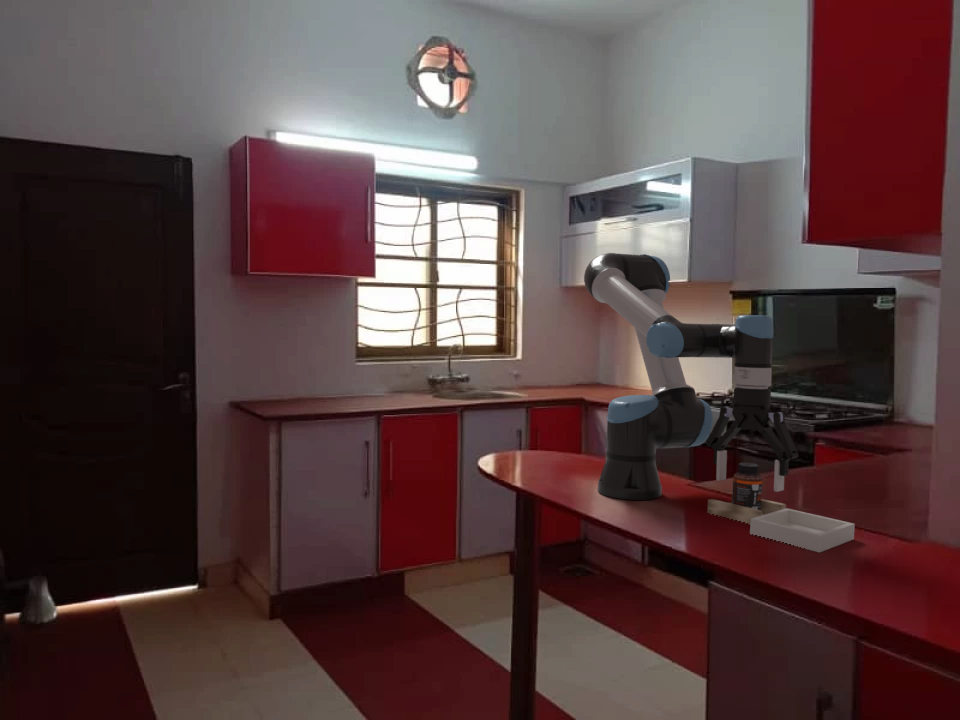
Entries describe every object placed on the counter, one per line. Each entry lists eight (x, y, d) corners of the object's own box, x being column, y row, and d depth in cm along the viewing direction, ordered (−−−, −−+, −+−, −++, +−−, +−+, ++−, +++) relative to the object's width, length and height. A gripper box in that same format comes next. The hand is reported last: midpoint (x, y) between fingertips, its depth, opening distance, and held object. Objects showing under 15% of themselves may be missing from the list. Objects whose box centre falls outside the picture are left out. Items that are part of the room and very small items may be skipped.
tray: (749, 534, 148) (750, 518, 147) (785, 522, 156) (786, 508, 156) (819, 552, 137) (820, 536, 137) (853, 539, 146) (854, 523, 145)
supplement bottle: (762, 520, 158) (765, 467, 157) (733, 518, 159) (735, 466, 158) (758, 513, 164) (760, 462, 163) (729, 511, 165) (732, 460, 164)
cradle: (707, 513, 162) (707, 499, 162) (735, 506, 169) (735, 493, 169) (758, 526, 153) (758, 512, 153) (785, 517, 160) (785, 504, 160)
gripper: (692, 383, 167) (689, 477, 168) (799, 392, 148) (796, 498, 148) (711, 382, 172) (708, 473, 172) (818, 390, 152) (814, 493, 153)
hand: (749, 485), depth 160 cm, fingers open, 13 cm apart
